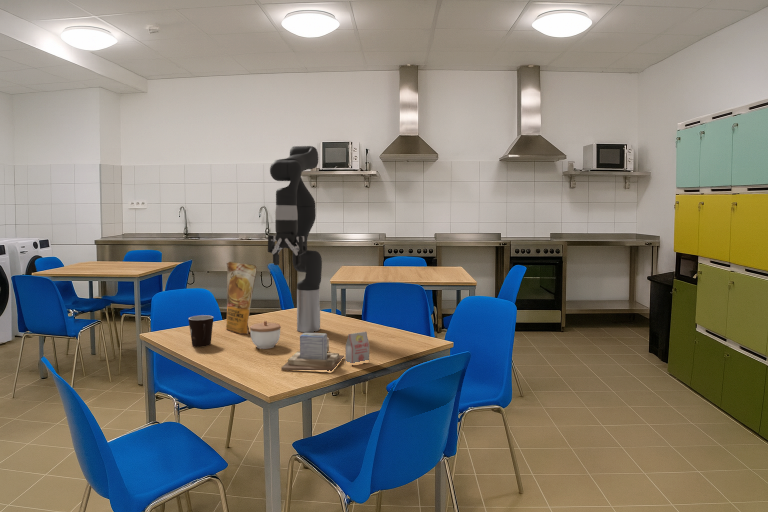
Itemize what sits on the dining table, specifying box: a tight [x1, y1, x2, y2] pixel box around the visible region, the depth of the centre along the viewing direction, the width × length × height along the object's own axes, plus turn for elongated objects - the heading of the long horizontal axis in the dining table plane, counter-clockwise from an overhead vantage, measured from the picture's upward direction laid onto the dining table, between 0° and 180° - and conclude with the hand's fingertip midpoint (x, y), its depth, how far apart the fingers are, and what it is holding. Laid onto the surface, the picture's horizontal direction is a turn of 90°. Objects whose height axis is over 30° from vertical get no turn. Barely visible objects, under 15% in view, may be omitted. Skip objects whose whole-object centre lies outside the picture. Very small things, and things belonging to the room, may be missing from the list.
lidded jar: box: [249, 320, 282, 350], centre depth 178 cm, size 11×11×9 cm
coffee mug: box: [188, 314, 214, 348], centre depth 178 cm, size 12×9×10 cm
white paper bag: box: [345, 331, 370, 363], centre depth 159 cm, size 4×7×10 cm, turn 126°
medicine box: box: [299, 332, 328, 360], centre depth 157 cm, size 8×4×9 cm, turn 82°
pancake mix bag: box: [225, 261, 258, 335], centre depth 201 cm, size 7×19×28 cm, turn 47°
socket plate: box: [280, 350, 345, 371], centre depth 157 cm, size 16×16×2 cm
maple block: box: [327, 337, 330, 353], centre depth 170 cm, size 5×5×5 cm
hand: (286, 265), depth 171 cm, fingers open, 8 cm apart
